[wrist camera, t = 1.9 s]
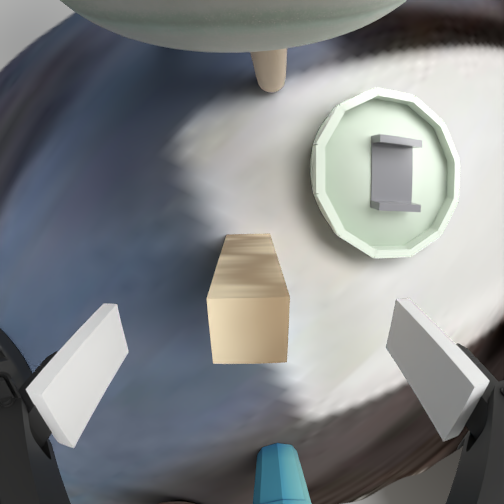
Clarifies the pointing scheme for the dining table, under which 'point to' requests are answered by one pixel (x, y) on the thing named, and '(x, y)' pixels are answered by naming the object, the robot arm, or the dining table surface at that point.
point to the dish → (385, 173)
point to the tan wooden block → (248, 303)
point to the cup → (279, 477)
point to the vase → (176, 502)
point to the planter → (235, 25)
